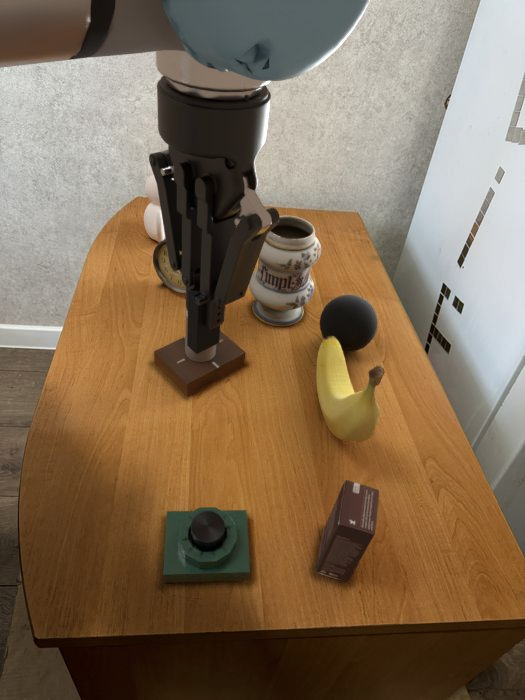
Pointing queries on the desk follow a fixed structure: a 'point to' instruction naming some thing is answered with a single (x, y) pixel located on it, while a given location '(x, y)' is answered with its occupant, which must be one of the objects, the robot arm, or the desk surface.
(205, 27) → the robot arm
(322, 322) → the decorative ball
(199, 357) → the dial
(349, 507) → the box
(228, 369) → the dial panel
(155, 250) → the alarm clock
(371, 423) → the banana
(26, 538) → the desk surface
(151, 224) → the cat figurine
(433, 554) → the desk surface
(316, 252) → the apothecary jar
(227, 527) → the button box
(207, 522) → the button
